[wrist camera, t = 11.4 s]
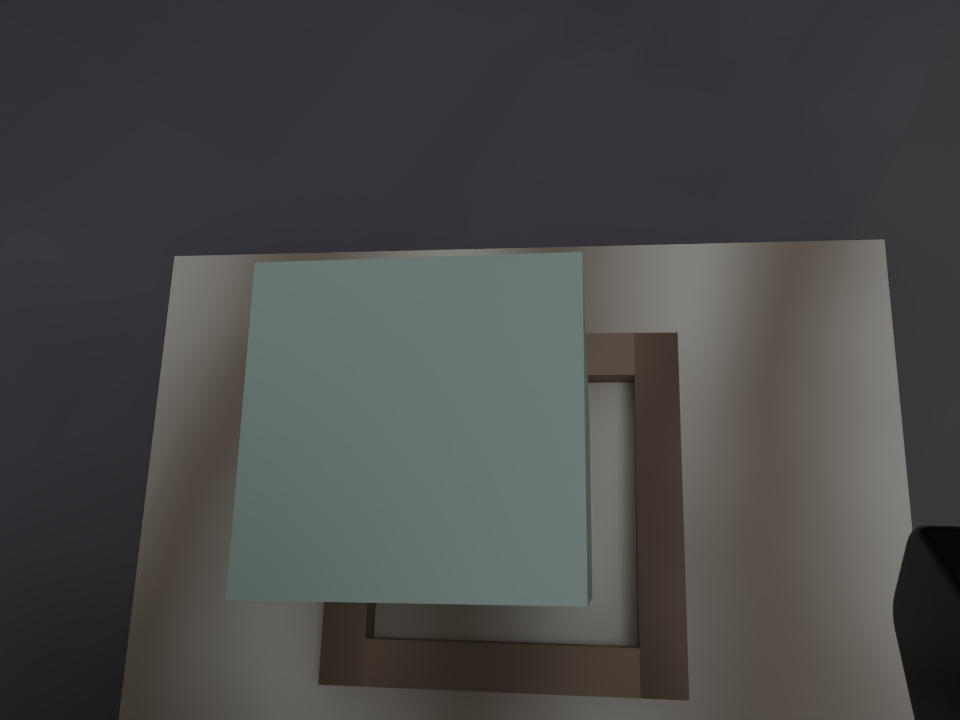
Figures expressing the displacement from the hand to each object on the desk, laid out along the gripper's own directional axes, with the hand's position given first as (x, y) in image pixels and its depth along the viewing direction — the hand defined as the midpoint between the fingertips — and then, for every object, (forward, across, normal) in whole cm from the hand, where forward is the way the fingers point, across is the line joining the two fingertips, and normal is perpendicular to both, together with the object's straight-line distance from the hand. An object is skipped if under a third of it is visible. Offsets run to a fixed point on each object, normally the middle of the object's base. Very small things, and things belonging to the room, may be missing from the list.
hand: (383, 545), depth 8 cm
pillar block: (+10, 0, +8) cm, 13 cm away
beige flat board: (+11, 0, +8) cm, 14 cm away
